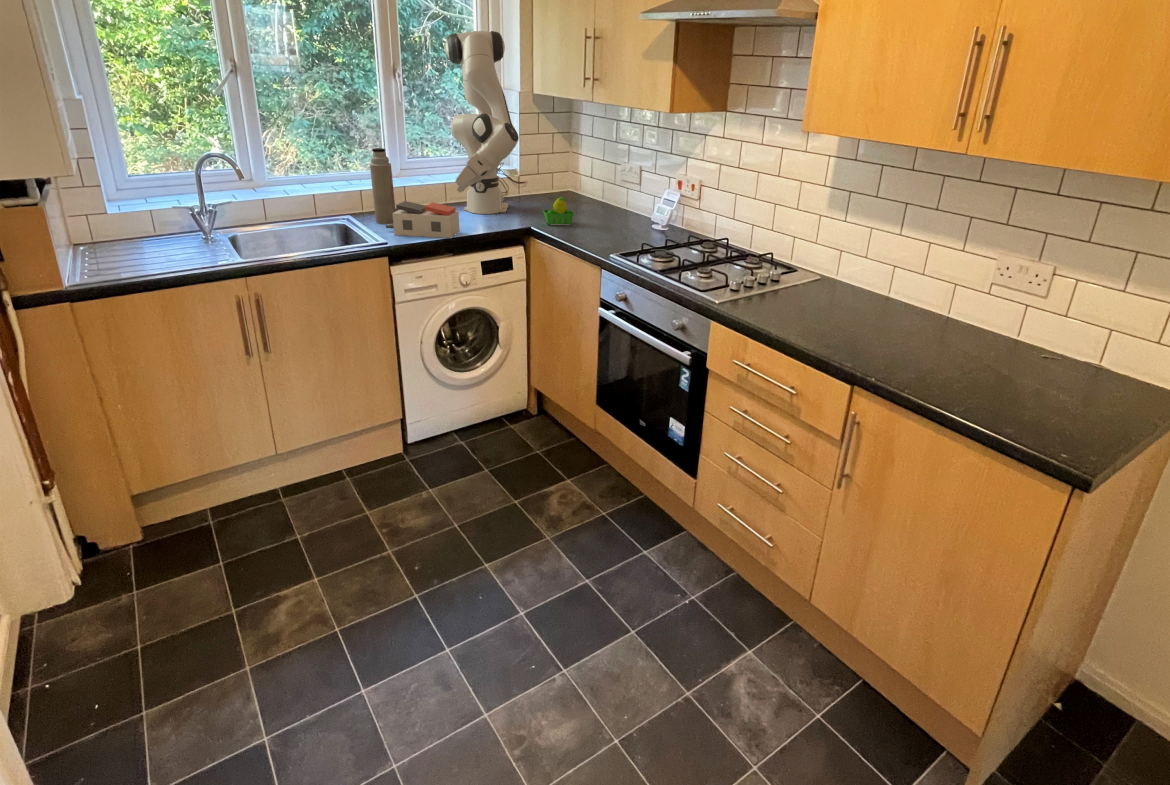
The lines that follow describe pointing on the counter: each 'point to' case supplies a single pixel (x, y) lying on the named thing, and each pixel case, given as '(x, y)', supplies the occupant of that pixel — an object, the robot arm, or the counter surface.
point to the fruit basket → (558, 213)
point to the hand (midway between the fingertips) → (459, 190)
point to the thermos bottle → (382, 187)
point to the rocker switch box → (425, 224)
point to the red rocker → (440, 209)
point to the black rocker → (411, 207)
